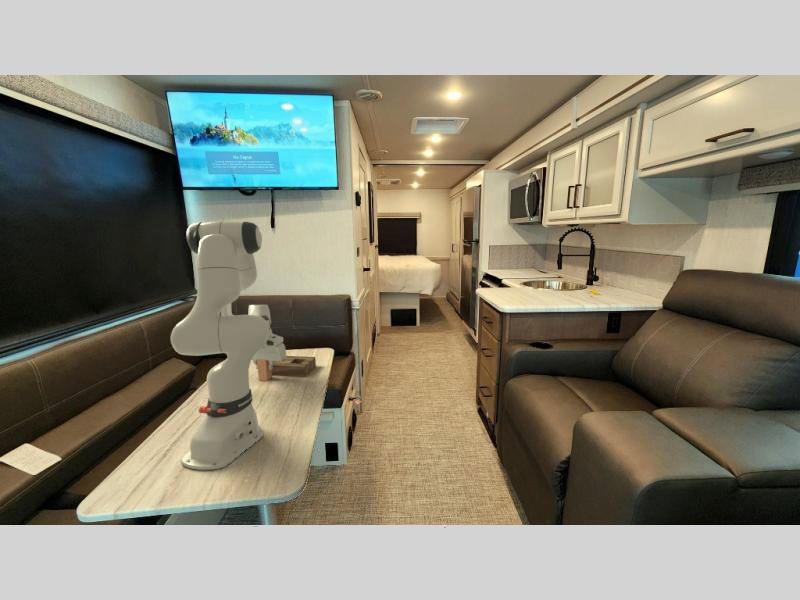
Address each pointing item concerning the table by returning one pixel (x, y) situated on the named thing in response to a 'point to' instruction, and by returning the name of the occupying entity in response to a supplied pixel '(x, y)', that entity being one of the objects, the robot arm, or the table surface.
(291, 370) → the socket block
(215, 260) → the robot arm
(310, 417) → the table surface
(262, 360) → the square peg
